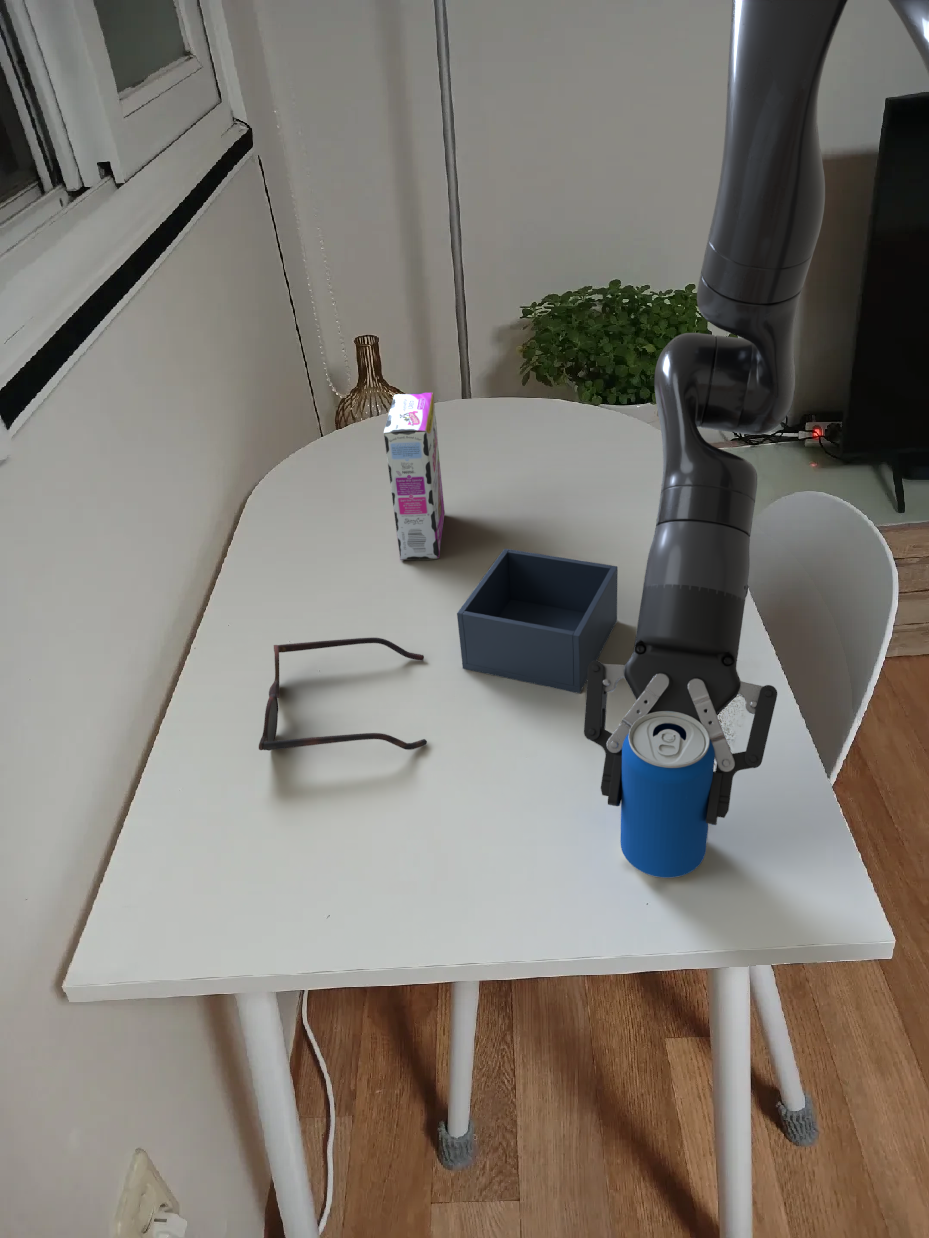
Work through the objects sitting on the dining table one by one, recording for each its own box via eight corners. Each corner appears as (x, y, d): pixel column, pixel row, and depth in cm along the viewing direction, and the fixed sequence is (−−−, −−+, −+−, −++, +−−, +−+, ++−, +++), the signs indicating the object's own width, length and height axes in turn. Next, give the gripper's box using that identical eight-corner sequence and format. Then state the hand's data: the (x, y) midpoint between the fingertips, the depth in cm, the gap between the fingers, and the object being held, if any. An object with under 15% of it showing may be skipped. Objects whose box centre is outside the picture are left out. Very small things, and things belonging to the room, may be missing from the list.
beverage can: (708, 826, 76) (719, 712, 69) (701, 891, 71) (712, 776, 64) (626, 813, 77) (629, 702, 70) (614, 876, 72) (615, 763, 65)
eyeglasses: (278, 669, 97) (268, 630, 94) (423, 653, 97) (418, 613, 94) (264, 771, 85) (252, 729, 82) (430, 752, 85) (424, 710, 82)
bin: (617, 621, 99) (617, 566, 95) (580, 693, 90) (579, 636, 86) (507, 601, 103) (504, 548, 99) (462, 668, 95) (456, 613, 91)
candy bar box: (442, 560, 111) (427, 430, 102) (399, 562, 112) (380, 433, 102) (447, 513, 120) (434, 389, 111) (408, 515, 121) (391, 392, 111)
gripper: (591, 570, 70) (556, 797, 68) (796, 593, 66) (765, 836, 64) (606, 590, 77) (574, 796, 75) (792, 612, 73) (764, 831, 71)
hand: (662, 813), depth 69 cm, fingers closed on beverage can, 6 cm apart
